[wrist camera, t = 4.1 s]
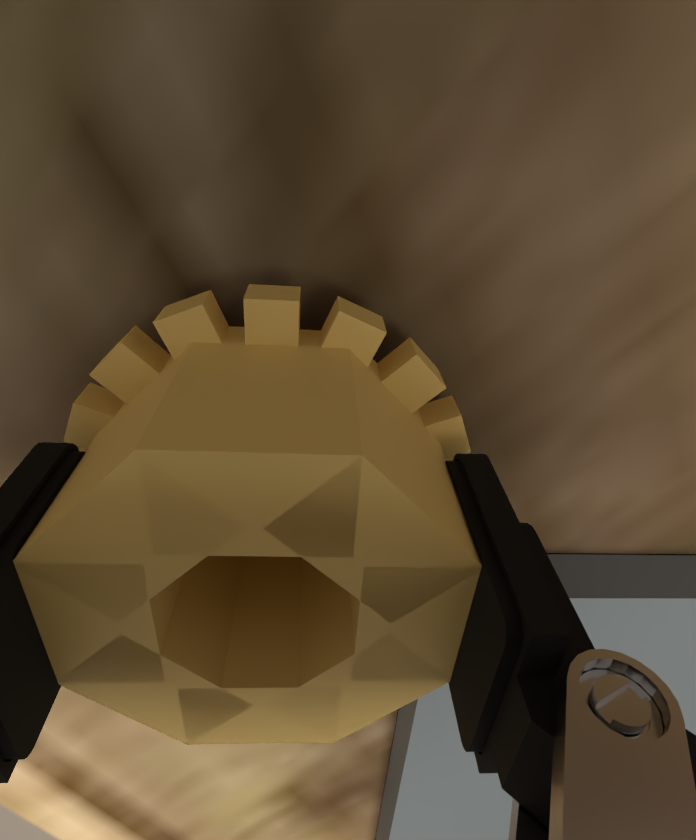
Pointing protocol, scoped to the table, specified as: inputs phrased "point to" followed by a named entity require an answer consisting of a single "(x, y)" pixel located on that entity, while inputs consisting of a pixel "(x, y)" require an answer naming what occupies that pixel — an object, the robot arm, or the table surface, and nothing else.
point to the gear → (256, 527)
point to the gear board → (607, 629)
